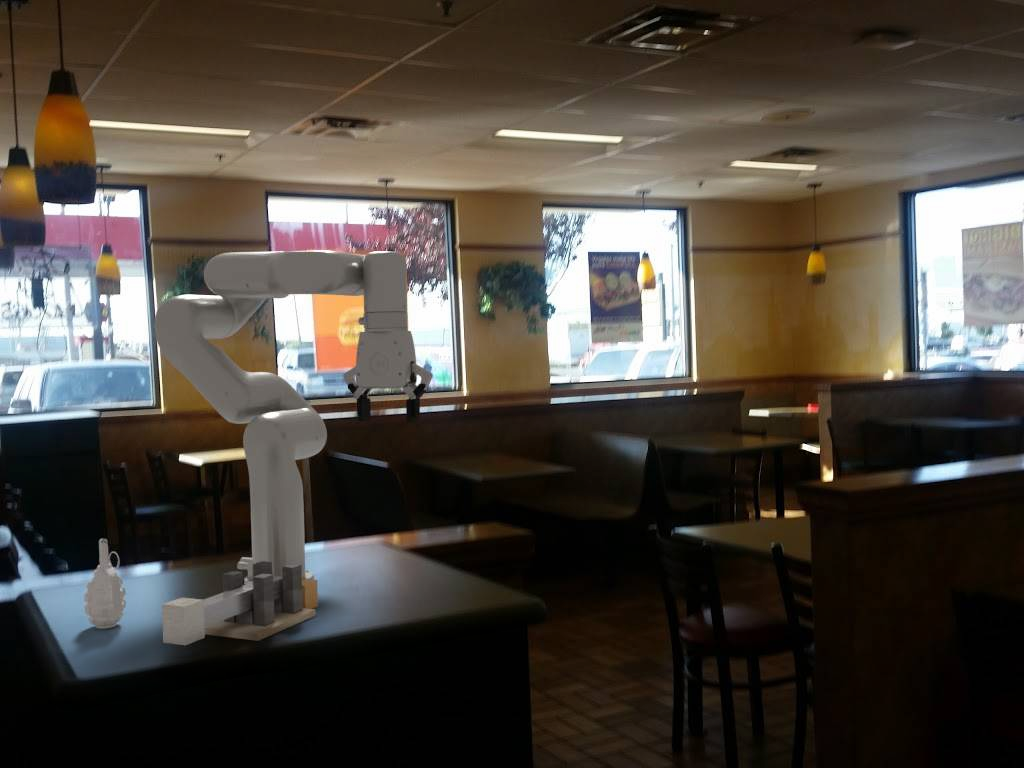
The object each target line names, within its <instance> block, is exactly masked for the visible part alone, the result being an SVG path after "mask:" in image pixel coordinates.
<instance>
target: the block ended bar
mask: <svg viewBox="0 0 1024 768" xmlns="http://www.w3.org/2000/svg"><path fill="white" fill-rule="evenodd" d="M273 588H274V600H276V599H278V598H281V597H283V578H282V576H273ZM253 608H254V599H253V582H251V583H248V584H246V585H245V584H243V586H240V587H237V588H234V589H232V590H229V591H226V592H223V591H222V592H221V593H218V594H215V595H211V596H210V597H206V598H204V599H200V598H199V599H198V598H190V597H179V598H178V597H177V598H176V599H173V600H170V601H167V602H165V603H162V604H161V612H162V613H161V614H162V616H161V617H162V618H161V619H162V642H163V643H164V644H170V645H171V644H173V645H180V646H187V645H190V644H192V643H195V642H197V641H200V640H202V639H205V636H206V634H205V632H204V628H205V627H207V626H210V625H212V624H215V623H217V622H220V621H222V620H225V619H228V618H230V617H233V616H235V615H238V614H240V613H243V612H245V611H248V610H250V609H253Z"/></svg>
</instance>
